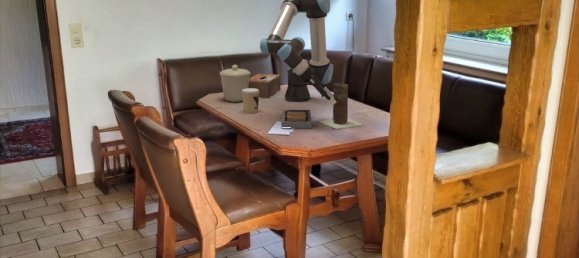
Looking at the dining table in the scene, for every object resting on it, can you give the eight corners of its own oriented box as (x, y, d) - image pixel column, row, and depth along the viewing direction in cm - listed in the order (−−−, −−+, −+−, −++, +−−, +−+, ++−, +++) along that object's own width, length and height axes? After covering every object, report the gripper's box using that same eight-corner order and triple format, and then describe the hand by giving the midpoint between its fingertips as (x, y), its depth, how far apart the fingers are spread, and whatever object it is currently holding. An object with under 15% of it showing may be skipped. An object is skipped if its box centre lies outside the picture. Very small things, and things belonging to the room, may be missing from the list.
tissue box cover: (268, 98, 337) (267, 82, 334) (245, 97, 341) (245, 81, 338) (280, 90, 361) (280, 74, 358) (259, 88, 364) (258, 73, 362)
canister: (239, 95, 344) (238, 61, 339) (257, 100, 331) (256, 65, 325) (214, 99, 333) (213, 64, 327) (232, 105, 320) (231, 68, 314)
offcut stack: (287, 124, 281) (287, 111, 279) (305, 124, 281) (305, 112, 279) (287, 126, 277) (287, 114, 275) (305, 126, 277) (305, 114, 275)
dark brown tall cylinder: (331, 120, 285) (332, 81, 280) (345, 120, 286) (347, 81, 280) (334, 124, 278) (335, 85, 272) (348, 124, 278) (349, 84, 273)
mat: (344, 118, 292) (344, 117, 292) (362, 125, 279) (362, 124, 279) (318, 122, 284) (318, 121, 284) (336, 129, 271) (336, 128, 271)
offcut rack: (282, 116, 296) (282, 109, 295) (309, 116, 296) (310, 109, 295) (281, 128, 273) (281, 121, 272) (311, 128, 273) (311, 121, 272)
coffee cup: (257, 113, 301) (256, 92, 297) (240, 113, 302) (239, 91, 299) (261, 109, 309) (261, 88, 306) (245, 109, 311) (244, 87, 308)
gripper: (297, 71, 287) (326, 100, 291) (298, 80, 263) (329, 111, 267) (308, 61, 285) (336, 90, 289) (310, 69, 261) (341, 101, 265)
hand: (333, 100), depth 278 cm, fingers open, 13 cm apart
